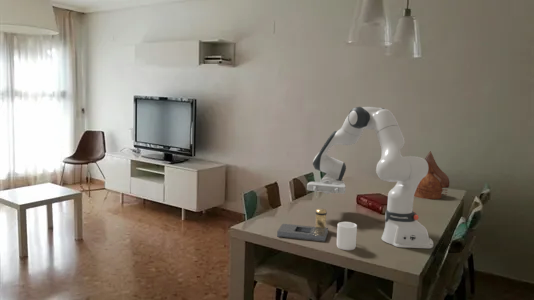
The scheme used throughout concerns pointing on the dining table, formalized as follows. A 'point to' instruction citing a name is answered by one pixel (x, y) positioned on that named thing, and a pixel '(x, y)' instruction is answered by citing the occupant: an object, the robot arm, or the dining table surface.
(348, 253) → the dining table surface
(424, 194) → the decorative ornament
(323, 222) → the gold cylinder
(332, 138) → the robot arm
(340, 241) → the cup
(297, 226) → the grey recessed slab
